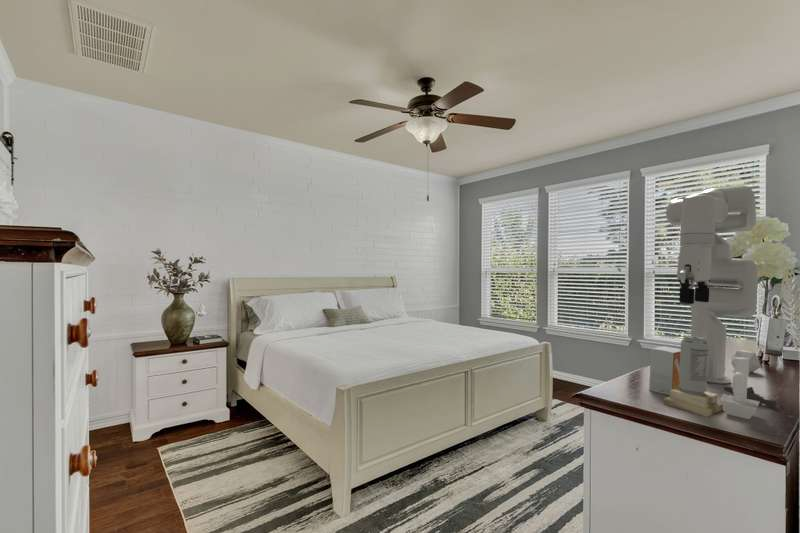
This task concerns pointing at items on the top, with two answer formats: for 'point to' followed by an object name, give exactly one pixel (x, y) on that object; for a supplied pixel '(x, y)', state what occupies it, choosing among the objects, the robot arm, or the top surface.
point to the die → (752, 357)
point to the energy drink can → (693, 365)
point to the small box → (664, 369)
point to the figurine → (740, 392)
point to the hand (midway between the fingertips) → (694, 302)
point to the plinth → (694, 402)
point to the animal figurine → (754, 397)
